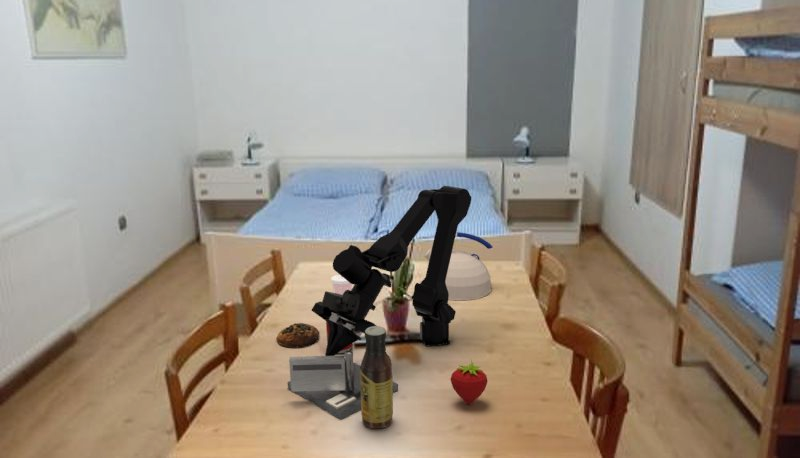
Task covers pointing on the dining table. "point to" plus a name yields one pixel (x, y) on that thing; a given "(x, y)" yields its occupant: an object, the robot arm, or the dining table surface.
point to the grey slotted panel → (322, 373)
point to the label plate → (340, 401)
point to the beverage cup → (340, 284)
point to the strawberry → (469, 382)
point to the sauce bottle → (376, 380)
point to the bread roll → (298, 335)
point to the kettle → (466, 273)
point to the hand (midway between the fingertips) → (327, 357)
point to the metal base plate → (322, 396)
